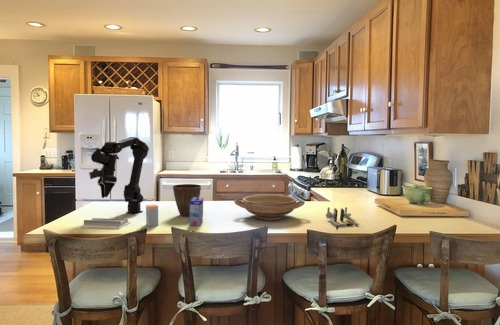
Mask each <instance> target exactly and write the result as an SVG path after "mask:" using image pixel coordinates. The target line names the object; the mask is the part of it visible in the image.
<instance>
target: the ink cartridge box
mask: <svg viewBox="0 0 500 325" xmlns="http://www.w3.org/2000/svg"><path fill="white" fill-rule="evenodd" d="M200 195H201V193H200V194H199V196H198V197H199V198H198V197H197V198H192V199H191V200H190V216H189V226H191V227H192V226H197V227H200V226H201V225H202V223H203V222H204V221H203V220H204V197H200Z"/></svg>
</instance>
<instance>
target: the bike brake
mask: <svg viewBox="0 0 500 325" xmlns="http://www.w3.org/2000/svg"><path fill="white" fill-rule="evenodd" d="M330 209H331V208H330V207H329V206H328V207H327V210H326V211H327V212H326V213H325V217H326V219H327V220H328V219H329V220H330V223H332V224H333V225H334V226H335V229H336V230H337V231H338V230H339V229H338V227H341V228H342V227H353V226H355V227H358V226H359V225H361V224H360V223H358V222H357V220H355V219H354V218H353V217H351V216H352V213H350V212H349V213H348V207H347V206H345V208H343V207H341V209H340V215H339V216H340V217H339V221H340V224H339V223H337V221H338V212H339V211H338V209H337V208H336V207H334V208H333V213H332V212H331V211H330ZM344 219H346V220H348V221H349V222H351V223H343V222H344Z"/></svg>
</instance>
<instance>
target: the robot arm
mask: <svg viewBox="0 0 500 325" xmlns="http://www.w3.org/2000/svg"><path fill="white" fill-rule="evenodd" d="M126 148H130V150H131V153H132V156H133V164H132V166H131V167H132V168H131V173H130V178H129V183H128V184H125V185H124V189H123V198H124V200H125V202H127V211H126V212H125V213H127V214H140V213H143V210H142V209H141V203H142V202H144V199H145V198H144V196H143V195H142V193H141V190H142V189H141V188H140V179H141V173H142V170H143V169H142V168H143V162H144V160H145V158H147V157H148V155H149V154H148V153H149V150H150V148H149V146H148V145H147V143H146V142H144V141H142V140H141V139H140V138H138V137H137V136H130V137H128V138H124V139H121V140H118V141H105V142H104V145H102V147H100V148H96V149H95V150H94V152H93V153H92V154H91V157H90V158H91V161H92V162H94V163H96V164H100V165H102V168H101V169H100V170H99V169H98V168H94V169H93V170H92V171H89V172H88V175H89V179H90V180H93V179H96V178H98V180H97V185H98V186H99V187H100V192H101V193H100V196H101V198H102V199H104V198H108V196H109V194H110V193H111V192H112V190H113V188H114V187H115V185H116V184H117V181H118V178H117V177H116V176H115V172H116V162H117V160H119V159H120V157H119V156H118V154H119V153H120V152H122V151H123V149H126Z"/></svg>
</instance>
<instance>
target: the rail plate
mask: <svg viewBox="0 0 500 325" xmlns="http://www.w3.org/2000/svg"><path fill="white" fill-rule="evenodd" d="M130 224H131V221H129V220H128V218H126V219H125V218H99V217H98V218H97V217H93V218H91V219H84V220H83V224H82V225H80V228H85V229H86V228H88V229H89V228H90V229H109V230H110V229H112V230H115V229H116V230H118V229H119V230H120V229H123V227H125V226H128V225H130Z"/></svg>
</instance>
